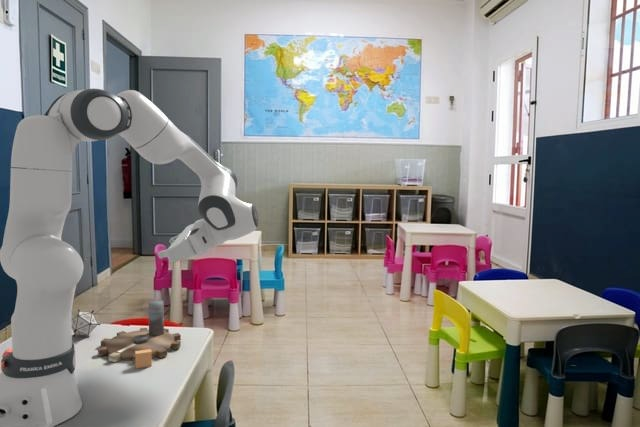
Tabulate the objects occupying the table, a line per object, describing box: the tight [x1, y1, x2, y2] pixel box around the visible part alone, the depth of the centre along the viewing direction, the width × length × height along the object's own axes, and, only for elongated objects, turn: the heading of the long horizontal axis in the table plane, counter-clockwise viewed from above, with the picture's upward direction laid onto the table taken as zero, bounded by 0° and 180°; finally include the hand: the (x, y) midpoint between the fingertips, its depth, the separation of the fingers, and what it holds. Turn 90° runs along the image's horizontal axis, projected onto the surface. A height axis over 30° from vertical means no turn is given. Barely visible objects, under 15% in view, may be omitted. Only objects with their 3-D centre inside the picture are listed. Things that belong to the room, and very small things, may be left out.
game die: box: [71, 309, 101, 339], centre depth 146 cm, size 9×8×10 cm
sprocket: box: [97, 299, 182, 363], centre depth 138 cm, size 23×23×12 cm
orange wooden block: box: [134, 349, 153, 369], centre depth 126 cm, size 4×2×4 cm, turn 114°
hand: (165, 248), depth 137 cm, fingers open, 8 cm apart
